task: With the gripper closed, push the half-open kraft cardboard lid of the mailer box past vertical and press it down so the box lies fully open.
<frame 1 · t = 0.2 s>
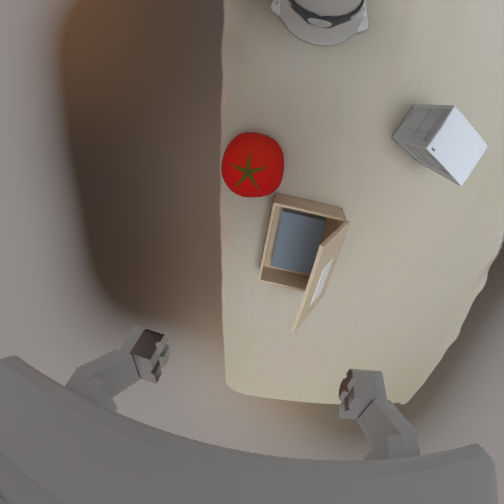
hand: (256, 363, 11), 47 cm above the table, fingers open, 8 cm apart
lid: (322, 276, 49), point 13 cm above the table, hinge at 65.0°
mailer box: (299, 238, 60), on the table
tomato: (257, 160, 54), on the table
supplement box: (418, 134, 45), on the table
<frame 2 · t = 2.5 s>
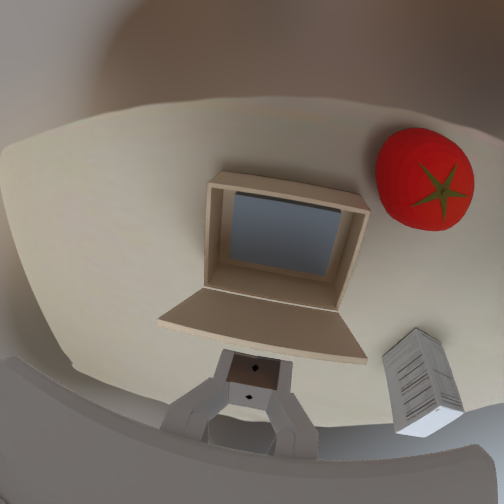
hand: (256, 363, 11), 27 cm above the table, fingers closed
lid: (266, 320, 28), point 13 cm above the table, hinge at 65.0°
mailer box: (283, 231, 37), on the table
tomato: (410, 169, 30), on the table
supplement box: (412, 349, 44), on the table
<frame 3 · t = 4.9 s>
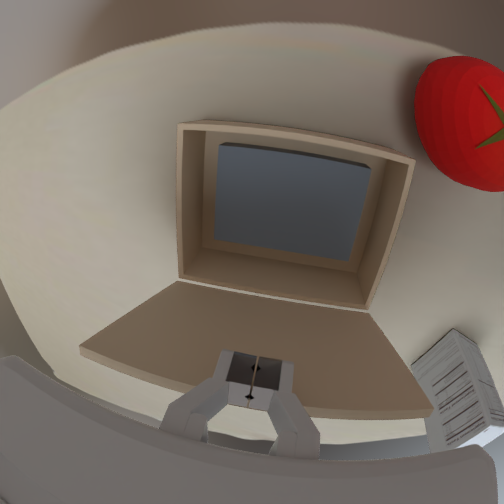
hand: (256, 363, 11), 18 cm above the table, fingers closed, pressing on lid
lid: (266, 336, 18), point 13 cm above the table, hinge at 69.8°, touching gripper
mailer box: (289, 200, 27), on the table
tomato: (450, 118, 19), on the table
supplement box: (445, 354, 33), on the table
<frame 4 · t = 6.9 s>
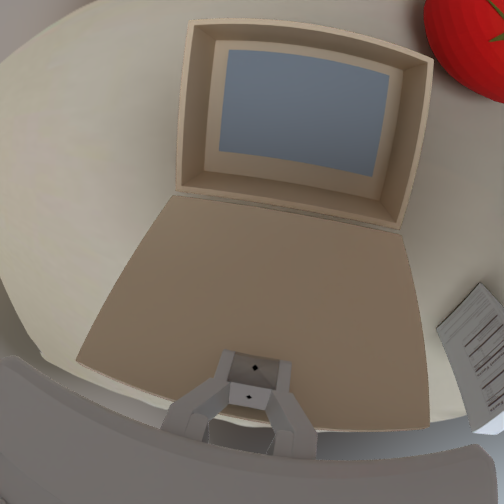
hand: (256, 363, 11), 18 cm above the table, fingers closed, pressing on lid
lid: (274, 293, 15), point 13 cm above the table, hinge at 106.3°, touching gripper
mailer box: (302, 114, 22), on the table
tomato: (460, 48, 15), on the table
supplement box: (471, 317, 29), on the table
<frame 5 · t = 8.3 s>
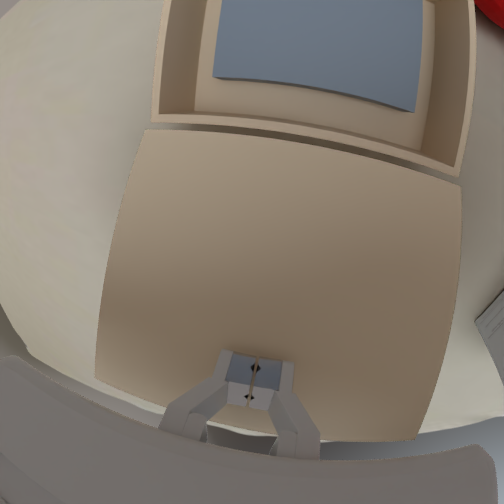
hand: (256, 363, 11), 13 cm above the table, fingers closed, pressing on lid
lid: (284, 290, 12), point 10 cm above the table, hinge at 144.0°, touching gripper
mailer box: (320, 41, 15), on the table
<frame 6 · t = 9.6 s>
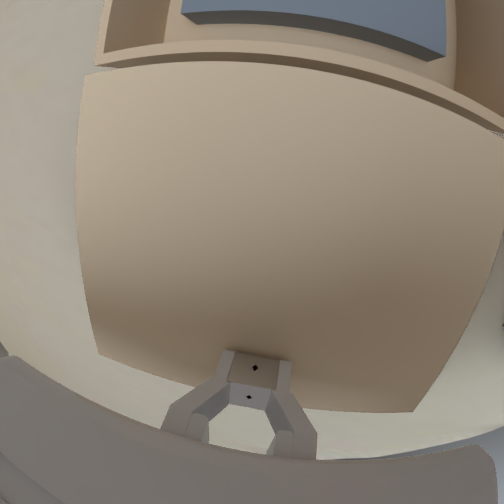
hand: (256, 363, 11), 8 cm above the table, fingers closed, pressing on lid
lid: (281, 270, 10), point 7 cm above the table, hinge at 171.7°, touching gripper
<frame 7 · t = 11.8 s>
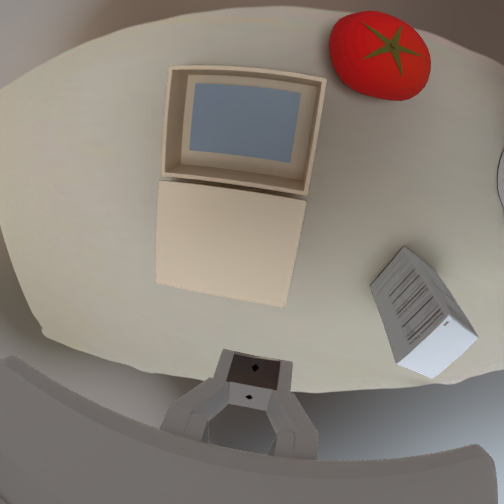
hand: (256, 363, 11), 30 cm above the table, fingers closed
lid: (223, 245, 35), point 7 cm above the table, hinge at 171.8°
mailer box: (245, 123, 34), on the table
tomato: (369, 62, 28), on the table
supplement box: (404, 278, 42), on the table
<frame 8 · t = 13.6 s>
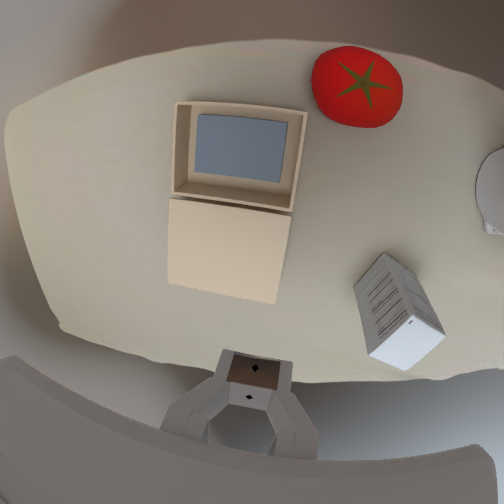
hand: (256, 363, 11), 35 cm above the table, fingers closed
lid: (223, 252, 42), point 7 cm above the table, hinge at 171.8°
mailer box: (241, 148, 41), on the table
tomato: (350, 89, 34), on the table
supplement box: (385, 280, 48), on the table
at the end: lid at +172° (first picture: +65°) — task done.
